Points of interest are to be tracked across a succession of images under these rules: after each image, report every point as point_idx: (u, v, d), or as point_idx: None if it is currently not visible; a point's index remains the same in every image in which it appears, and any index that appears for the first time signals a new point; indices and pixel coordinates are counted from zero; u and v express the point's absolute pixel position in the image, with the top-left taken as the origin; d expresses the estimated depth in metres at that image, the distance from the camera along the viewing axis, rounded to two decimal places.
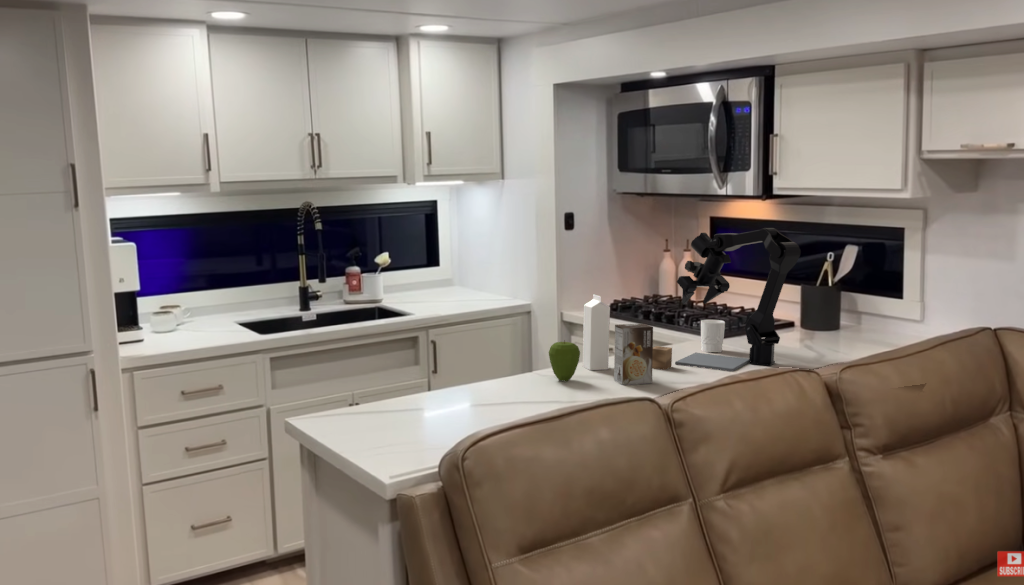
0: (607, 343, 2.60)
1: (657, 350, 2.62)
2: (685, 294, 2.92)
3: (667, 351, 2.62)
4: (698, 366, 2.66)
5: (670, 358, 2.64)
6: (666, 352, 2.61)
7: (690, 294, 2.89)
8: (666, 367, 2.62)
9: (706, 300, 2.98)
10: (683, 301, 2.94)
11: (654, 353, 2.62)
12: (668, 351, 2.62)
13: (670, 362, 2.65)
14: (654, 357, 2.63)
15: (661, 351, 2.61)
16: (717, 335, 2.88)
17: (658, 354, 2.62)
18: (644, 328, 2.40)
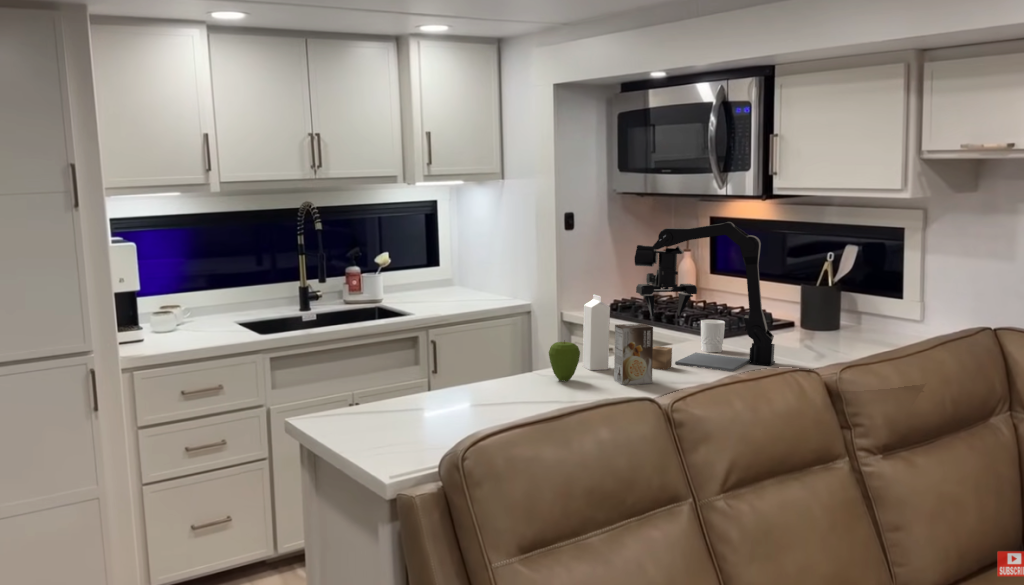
0: (607, 343, 2.60)
1: (657, 350, 2.62)
2: (649, 303, 2.79)
3: (667, 351, 2.62)
4: (698, 366, 2.66)
5: (670, 358, 2.64)
6: (666, 352, 2.61)
7: (650, 298, 2.76)
8: (666, 367, 2.62)
9: (679, 311, 2.81)
10: (650, 312, 2.80)
11: (654, 353, 2.62)
12: (668, 351, 2.62)
13: (670, 362, 2.65)
14: (654, 357, 2.63)
15: (661, 351, 2.61)
16: (717, 335, 2.88)
17: (658, 354, 2.62)
18: (644, 328, 2.40)
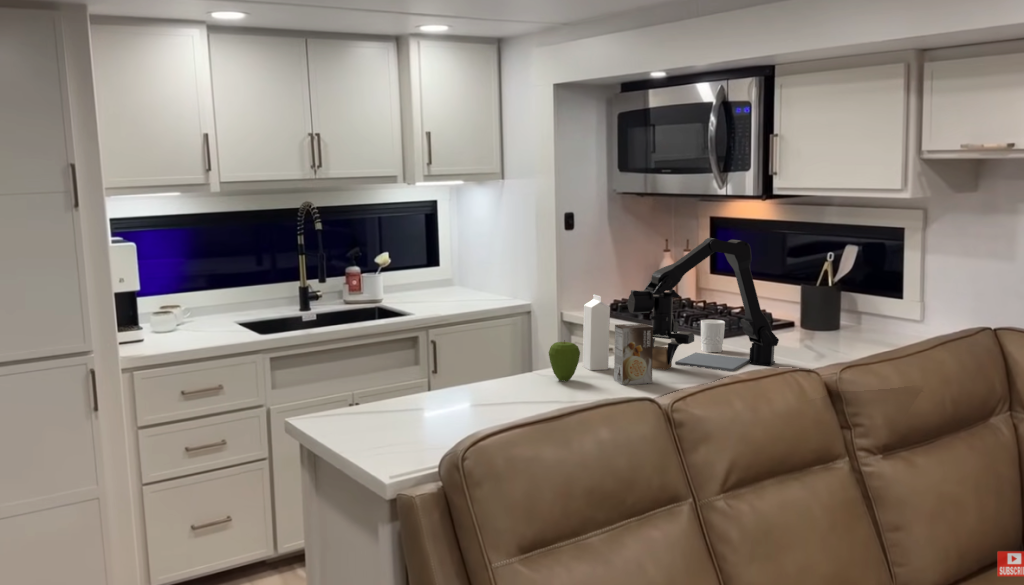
0: (607, 343, 2.60)
1: (657, 350, 2.62)
2: None
3: (667, 351, 2.62)
4: (698, 366, 2.66)
5: None
6: (666, 352, 2.61)
7: None
8: (666, 367, 2.62)
9: None
10: None
11: (654, 353, 2.62)
12: None
13: None
14: (654, 357, 2.63)
15: (661, 351, 2.61)
16: (717, 335, 2.88)
17: (658, 354, 2.62)
18: (644, 328, 2.40)
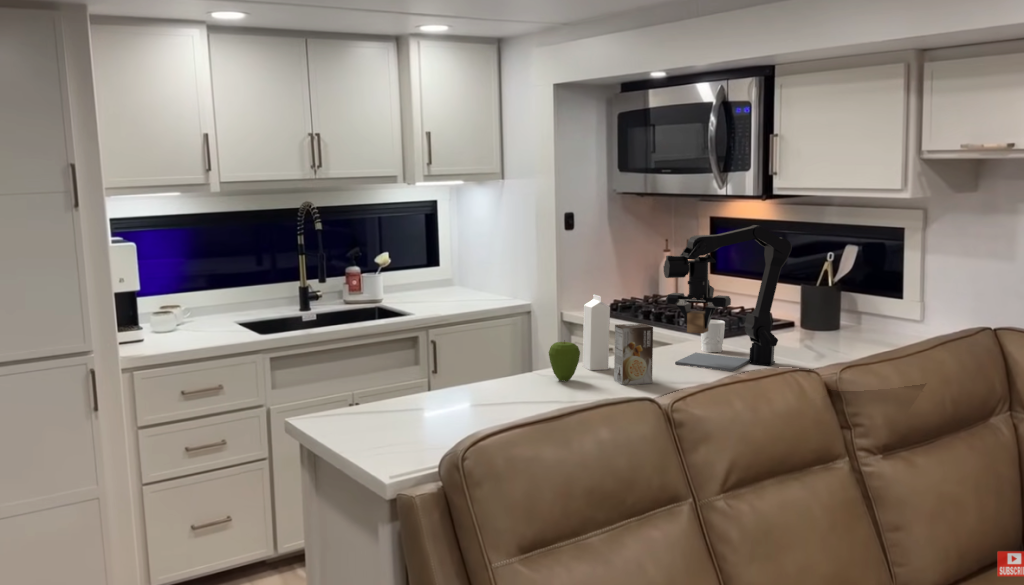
0: (607, 343, 2.60)
1: (694, 314, 2.66)
2: None
3: (704, 315, 2.65)
4: (698, 366, 2.66)
5: None
6: (703, 316, 2.65)
7: (680, 308, 2.67)
8: (703, 331, 2.66)
9: None
10: None
11: (691, 317, 2.66)
12: None
13: None
14: (691, 321, 2.66)
15: (698, 315, 2.65)
16: (717, 335, 2.88)
17: (695, 318, 2.66)
18: (644, 328, 2.40)
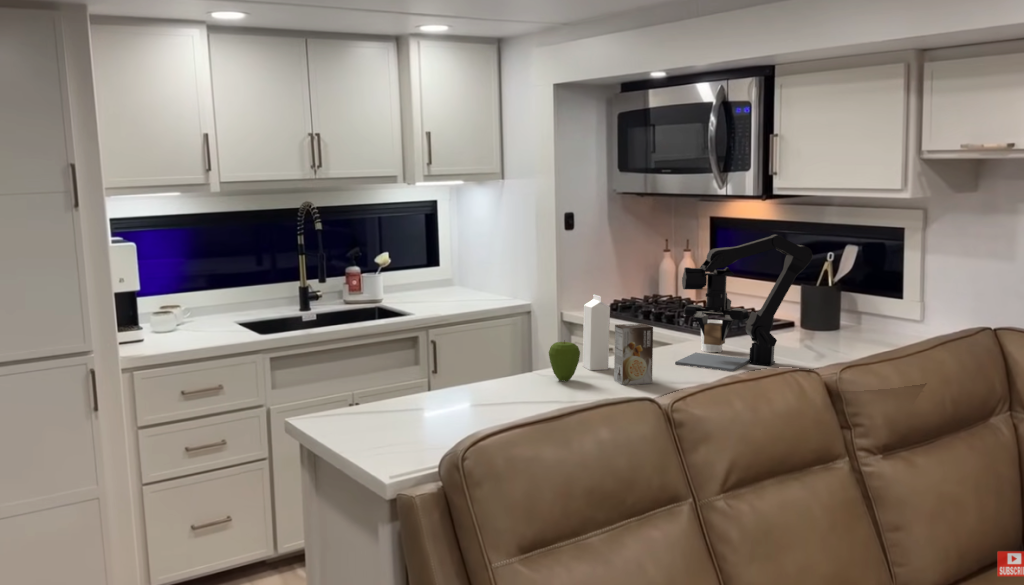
0: (607, 343, 2.60)
1: (711, 326, 2.69)
2: None
3: (721, 327, 2.69)
4: (698, 366, 2.66)
5: None
6: (720, 328, 2.68)
7: (698, 319, 2.71)
8: (720, 342, 2.69)
9: None
10: None
11: (708, 329, 2.69)
12: None
13: None
14: (708, 333, 2.70)
15: (715, 327, 2.68)
16: None
17: (712, 330, 2.69)
18: (644, 328, 2.40)
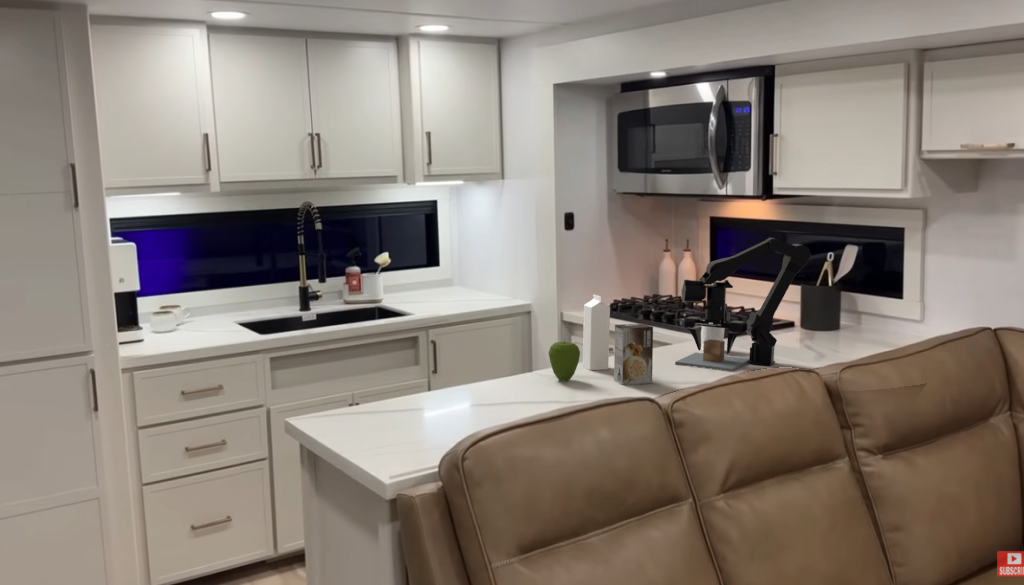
0: (607, 343, 2.60)
1: (711, 343, 2.70)
2: None
3: (720, 344, 2.69)
4: (698, 366, 2.66)
5: (723, 351, 2.72)
6: (720, 345, 2.69)
7: (691, 331, 2.72)
8: (719, 360, 2.70)
9: None
10: None
11: (708, 346, 2.70)
12: (721, 344, 2.70)
13: (723, 354, 2.72)
14: (708, 350, 2.70)
15: (715, 344, 2.69)
16: (717, 335, 2.88)
17: (712, 347, 2.70)
18: (644, 328, 2.40)
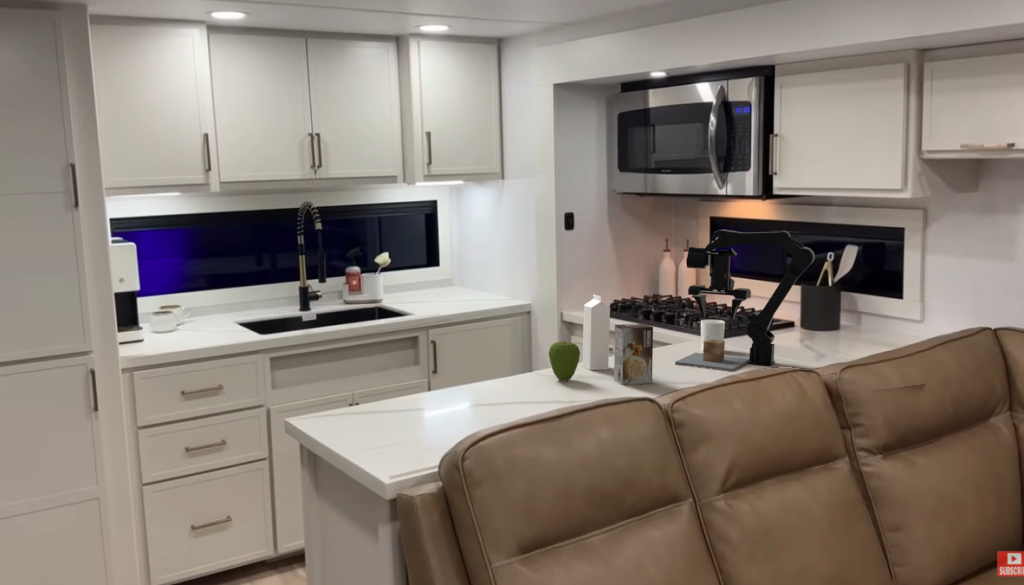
0: (607, 343, 2.60)
1: (711, 343, 2.70)
2: None
3: (720, 344, 2.69)
4: (698, 366, 2.66)
5: (723, 351, 2.72)
6: (720, 345, 2.69)
7: (696, 298, 2.77)
8: (719, 360, 2.70)
9: None
10: None
11: (708, 346, 2.70)
12: (721, 344, 2.70)
13: (723, 354, 2.72)
14: (708, 350, 2.70)
15: (715, 344, 2.69)
16: (717, 335, 2.88)
17: (712, 347, 2.70)
18: (644, 328, 2.40)
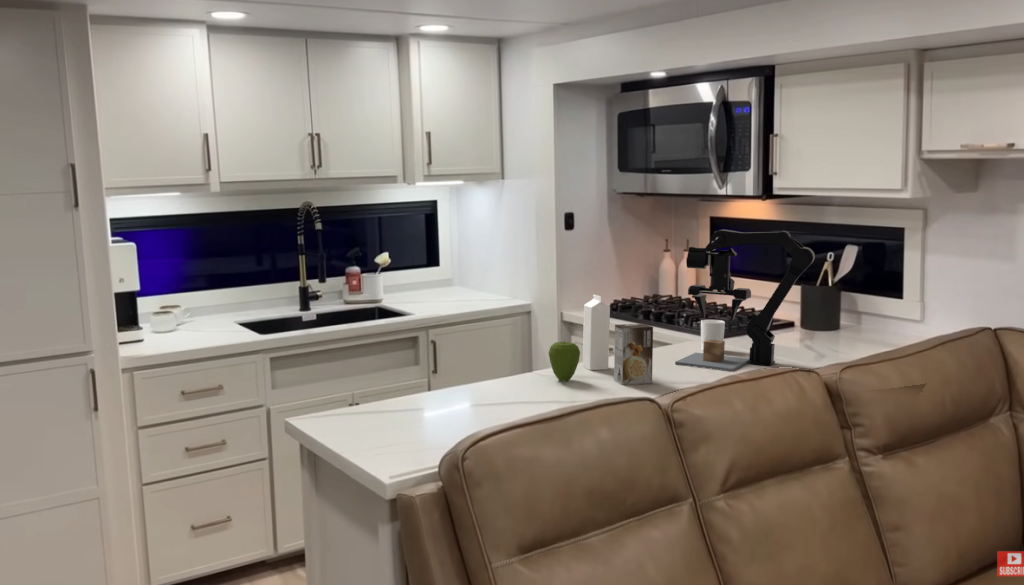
0: (607, 343, 2.60)
1: (711, 343, 2.70)
2: None
3: (720, 344, 2.69)
4: (698, 366, 2.66)
5: (723, 351, 2.72)
6: (720, 345, 2.69)
7: (696, 298, 2.77)
8: (719, 360, 2.70)
9: None
10: None
11: (708, 346, 2.70)
12: (721, 344, 2.70)
13: (723, 354, 2.72)
14: (708, 350, 2.70)
15: (715, 344, 2.69)
16: (717, 335, 2.88)
17: (712, 347, 2.70)
18: (644, 328, 2.40)
